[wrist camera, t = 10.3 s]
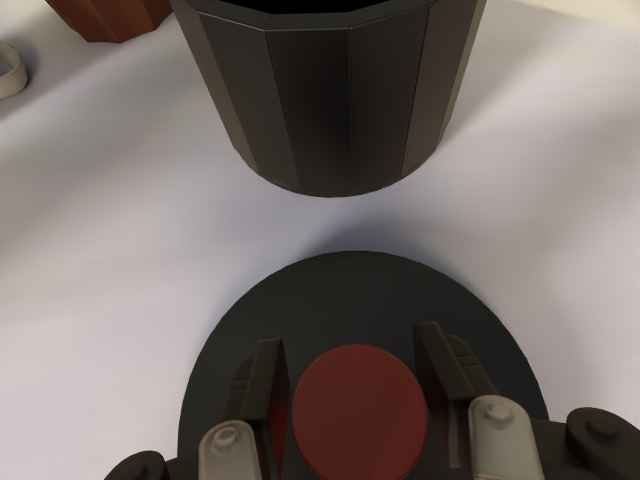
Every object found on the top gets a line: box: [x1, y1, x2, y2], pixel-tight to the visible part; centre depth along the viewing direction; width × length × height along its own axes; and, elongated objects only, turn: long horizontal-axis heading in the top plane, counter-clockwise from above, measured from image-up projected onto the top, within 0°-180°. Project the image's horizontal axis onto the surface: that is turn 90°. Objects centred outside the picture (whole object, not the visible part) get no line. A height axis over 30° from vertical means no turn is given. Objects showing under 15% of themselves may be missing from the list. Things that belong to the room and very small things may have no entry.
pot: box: [169, 0, 487, 198], centre depth 19 cm, size 14×14×10 cm
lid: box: [177, 251, 549, 480], centre depth 12 cm, size 15×15×9 cm
